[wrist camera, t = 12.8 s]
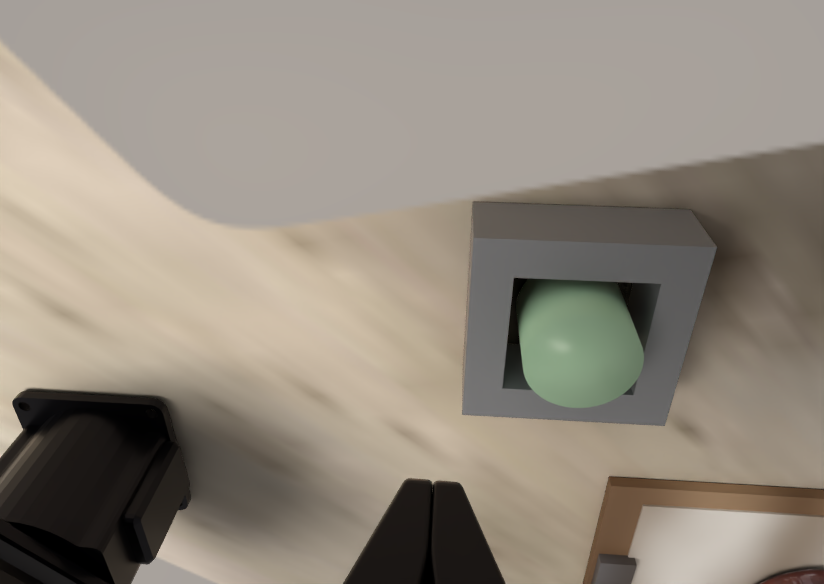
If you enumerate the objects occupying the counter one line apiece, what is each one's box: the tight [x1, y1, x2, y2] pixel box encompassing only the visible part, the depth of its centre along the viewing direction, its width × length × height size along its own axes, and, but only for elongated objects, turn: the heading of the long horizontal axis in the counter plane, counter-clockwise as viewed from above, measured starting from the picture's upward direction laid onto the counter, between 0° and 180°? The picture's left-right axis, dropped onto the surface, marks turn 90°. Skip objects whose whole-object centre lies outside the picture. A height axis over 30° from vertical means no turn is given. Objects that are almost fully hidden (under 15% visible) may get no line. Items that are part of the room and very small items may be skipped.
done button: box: [516, 278, 644, 408], centre depth 21 cm, size 4×4×3 cm
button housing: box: [462, 202, 717, 426], centre depth 21 cm, size 7×7×3 cm
